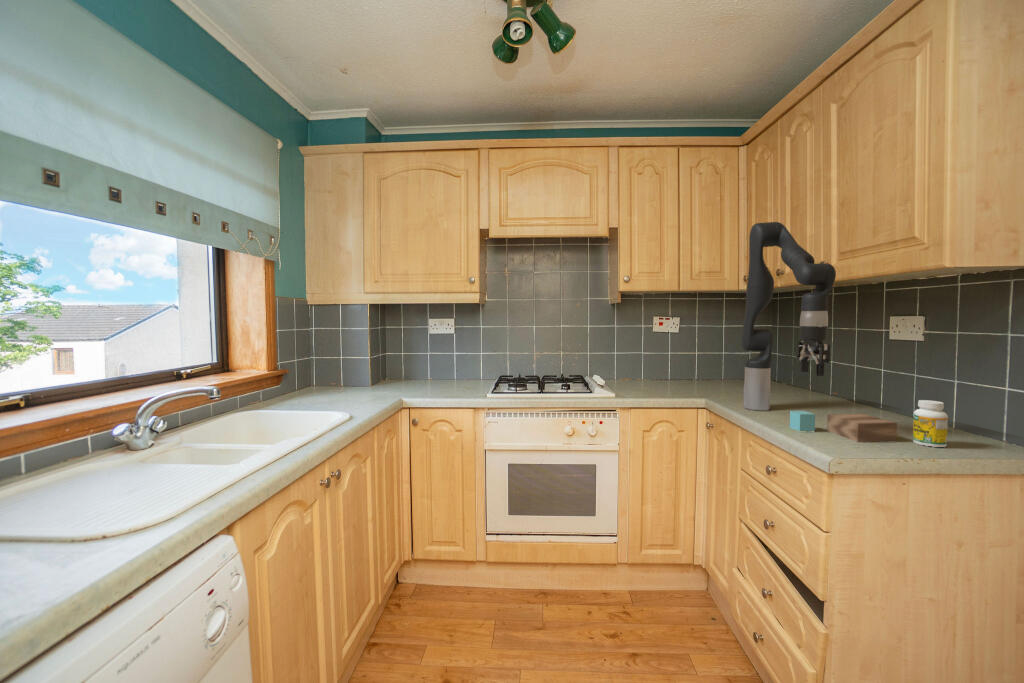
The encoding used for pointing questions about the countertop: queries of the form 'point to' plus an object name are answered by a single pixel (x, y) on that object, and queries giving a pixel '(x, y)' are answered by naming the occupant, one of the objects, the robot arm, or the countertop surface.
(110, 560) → the countertop surface
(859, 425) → the walnut box
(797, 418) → the teal block
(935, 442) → the supplement bottle
